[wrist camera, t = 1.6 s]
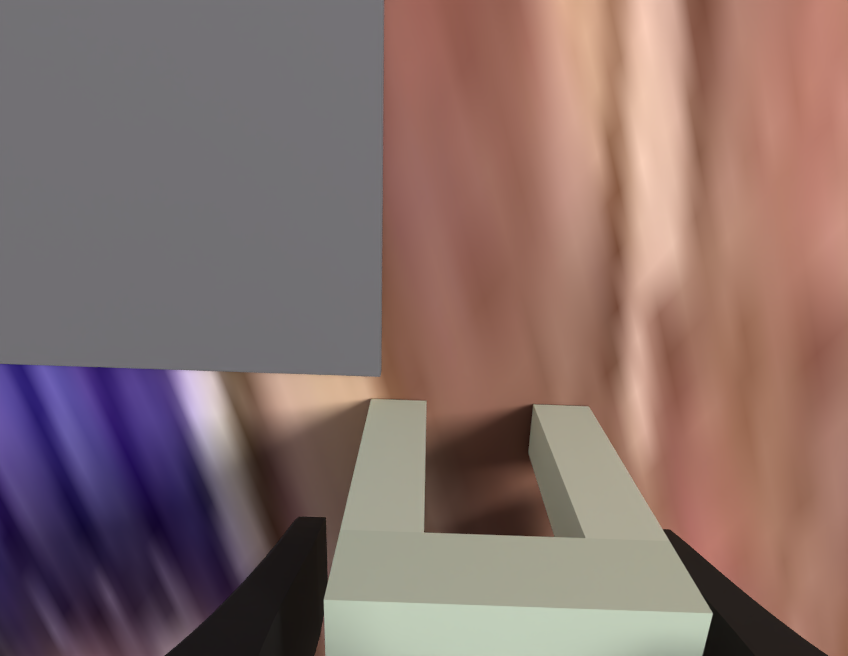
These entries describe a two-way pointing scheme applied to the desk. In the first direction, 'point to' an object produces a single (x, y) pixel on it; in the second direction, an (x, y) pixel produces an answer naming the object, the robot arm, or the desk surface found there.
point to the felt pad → (192, 184)
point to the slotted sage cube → (507, 557)
